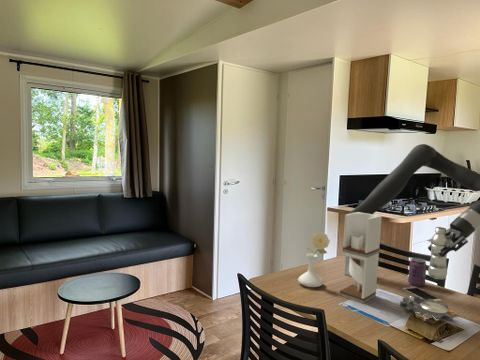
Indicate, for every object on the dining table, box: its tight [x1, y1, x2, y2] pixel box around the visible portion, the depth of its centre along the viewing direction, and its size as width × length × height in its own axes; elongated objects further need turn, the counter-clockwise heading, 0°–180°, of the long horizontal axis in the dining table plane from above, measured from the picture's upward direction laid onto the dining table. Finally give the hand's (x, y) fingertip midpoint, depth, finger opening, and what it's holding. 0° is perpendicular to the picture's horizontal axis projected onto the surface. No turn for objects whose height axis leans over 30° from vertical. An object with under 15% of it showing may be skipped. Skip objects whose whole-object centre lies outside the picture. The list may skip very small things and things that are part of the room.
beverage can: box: [407, 257, 428, 287], centre depth 166 cm, size 7×7×12 cm
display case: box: [339, 212, 383, 304], centre depth 149 cm, size 11×11×35 cm
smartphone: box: [402, 286, 442, 303], centre depth 155 cm, size 8×1×15 cm
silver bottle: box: [427, 226, 448, 280], centre depth 136 cm, size 6×7×20 cm
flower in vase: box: [297, 231, 331, 288], centre depth 159 cm, size 13×11×25 cm
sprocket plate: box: [399, 295, 455, 322], centre depth 139 cm, size 19×18×4 cm
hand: (434, 252), depth 136 cm, fingers closed on silver bottle, 6 cm apart
